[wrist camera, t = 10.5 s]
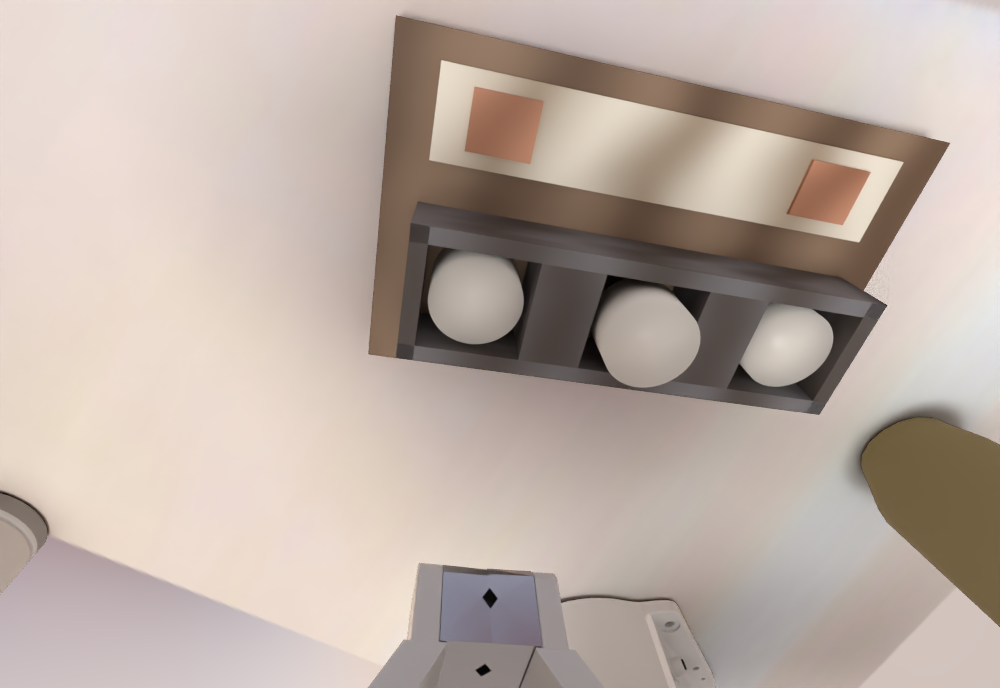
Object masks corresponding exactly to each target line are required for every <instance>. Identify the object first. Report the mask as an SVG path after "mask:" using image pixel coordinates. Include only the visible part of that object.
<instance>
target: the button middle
mask: <svg viewBox="0 0 1000 688" xmlns="http://www.w3.org/2000/svg"><path fill="white" fill-rule="evenodd" d="M590 330H591V333H592V336H593V338H594V340H595V343H596V345H597V347H598V349H599V352H600V354H601V356H602V358H603V361H604V363H605V365H606V367H607V369H608V371H609V372H610V374H611V375H612V376H613V377H614V378H615V379H617V380H618V381H620V382H621V383H624V384H626V385H629V386H633V387H641V388H645V387H654V386H658V385H662V384H664V383H667V382H669V381H671V380H673V379H674V378H676V377H678V376H679V375H680V374H682V373H683V372H684V371H685V370H686V369H687V368H688V367H689V366H690V364H691V363H692V362H693V360H694V359H695V357H696V355H697V352H698V350H699V346H700V338H701V337H700V330H699V326H698V324H697V322H696V320H695V319H694V317H693V316H692V315H691V314H690V312H689V311H688V310H687V309H686V308H685V307H684V305H683V304H682V303H681V302H680V301H679V300H678V298H677V297H676V296H675V295H674V294H673V293H672V291H671V290H670V289H669V288H668V287H667V286H666V285H665V284H660V283H654V282H648V281H642V280H636V279H630V278H625V279H622V280H620V281H618V282H616V283H614V284H612V285H611V286H609V287H608V288H607V289H605V290H604V291H603V292H602V293H601V297H600V300H599V303H598V306H597V309H596V312H595V315H594V319H593V322H592V325H591V328H590Z"/></svg>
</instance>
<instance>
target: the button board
mask: <svg viewBox="0 0 1000 688" xmlns="http://www.w3.org/2000/svg"><path fill="white" fill-rule="evenodd" d="M949 144H950V143H948V142H943V141H939V140H935V139H930V138H926V137H922V136H917V135H913V134H909V133H904V132H900V131H896V130H891V129H887V128H883V127H878V126H874V125H870V124H865V123H861V122H857V121H852V120H848V119H844V118H839V117H835V116H831V115H826V114H822V113H818V112H813V111H809V110H804V109H800V108H796V107H791V106H787V105H783V104H778V103H774V102H770V101H765V100H761V99H757V98H752V97H748V96H744V95H739V94H735V93H731V92H726V91H722V90H718V89H713V88H709V87H705V86H700V85H696V84H692V83H687V82H683V81H679V80H674V79H670V78H666V77H661V76H657V75H652V74H648V73H644V72H639V71H635V70H631V69H626V68H622V67H618V66H613V65H609V64H605V63H600V62H596V61H592V60H587V59H583V58H579V57H574V56H570V55H566V54H561V53H557V52H553V51H548V50H544V49H540V48H535V47H531V46H527V45H522V44H518V43H514V42H509V41H505V40H500V39H496V38H492V37H487V36H483V35H479V34H474V33H470V32H466V31H461V30H457V29H453V28H448V27H444V26H440V25H435V24H431V23H427V22H422V21H418V20H414V19H409V18H405V17H401V16H396V22H395V35H394V47H393V59H392V71H391V84H390V96H389V108H388V120H387V132H386V145H385V157H384V169H383V181H382V194H381V206H380V218H379V230H378V243H377V255H376V267H375V279H374V292H373V304H372V316H371V328H370V341H369V353H368V354H371V355H378V356H386V357H393V358H400V359H408V360H415V361H423V362H430V363H438V364H445V365H452V366H460V367H467V368H475V369H482V370H490V371H497V372H504V373H512V374H519V375H527V376H534V377H542V378H549V379H556V380H564V381H571V382H579V383H586V384H594V385H601V386H608V387H616V388H623V389H631V390H638V391H646V392H653V393H660V394H668V395H675V396H683V397H690V398H698V399H705V400H713V401H720V402H727V403H735V404H742V405H750V406H757V407H765V408H772V409H779V410H787V411H795V412H803V413H810V414H817V415H819V414H820V413H821V411H822V409H823V408H824V406H825V404H826V403H827V401H828V400H829V398H830V396H831V395H832V393H833V392H834V390H835V388H836V387H837V385H838V384H839V382H840V380H841V379H842V377H843V376H844V374H845V372H846V371H847V369H848V368H849V366H850V364H851V363H852V361H853V359H854V358H855V356H856V355H857V353H858V351H859V350H860V348H861V347H862V345H863V343H864V342H865V340H866V339H867V337H868V335H869V334H870V332H871V331H872V329H873V327H874V326H875V324H876V322H877V321H878V319H879V318H880V316H881V314H882V313H883V311H884V310H885V308H886V306H887V305H886V304H884V303H883V302H881V301H879V300H878V299H876V298H874V297H873V296H871V295H869V294H868V293H866V292H864V291H863V290H864V289H865V287H866V285H867V284H868V282H869V280H870V279H871V277H872V275H873V273H874V272H875V270H876V268H877V267H878V265H879V263H880V262H881V260H882V258H883V256H884V255H885V253H886V251H887V250H888V248H889V246H890V245H891V243H892V241H893V239H894V238H895V236H896V234H897V233H898V231H899V229H900V228H901V226H902V224H903V222H904V221H905V219H906V217H907V216H908V214H909V212H910V211H911V209H912V207H913V205H914V204H915V202H916V200H917V199H918V197H919V195H920V194H921V192H922V190H923V188H924V187H925V185H926V183H927V182H928V180H929V178H930V177H931V175H932V173H933V171H934V170H935V168H936V166H937V165H938V163H939V161H940V160H941V158H942V156H943V154H944V153H945V151H946V149H947V148H948V146H949ZM444 247H445V248H451V249H457V250H463V251H469V252H475V253H481V254H487V255H493V256H499V257H505V258H511V259H514V260H515V263H516V266H517V269H518V274H519V278H520V282H521V287H522V291H523V297H524V305H523V310H522V313H521V316H520V318H519V320H518V322H517V323H516V325H515V326H514V327H513V329H512V330H511V331H509V332H508V333H507V334H506V335H504V336H503V337H501V338H499V339H497V340H495V341H492V342H489V343H484V344H467V343H462V342H459V341H456V340H454V339H452V338H450V337H448V336H447V335H445V334H444V333H443V332H442V331H441V330H440V329H439V328H438V327H437V326H436V324H435V323H434V321H433V320H432V318H431V315H430V312H429V308H428V293H429V287H430V280H431V274H432V268H433V264H434V262H435V259H436V258H437V256H438V254H439V253H440V252H441V250H442V249H443V248H444ZM625 278H630V279H636V280H642V281H648V282H654V283H660V284H665V285H666V286H667V287H668V288H669V289H670V290H671V291H672V293H673V294H674V295H675V296H676V297H677V298H678V300H679V301H680V302H681V303H682V304H683V305H684V307H685V308H686V309H687V310H688V311H689V312H690V314H691V315H692V316H693V317H694V319H695V320H696V322H697V324H698V326H699V330H700V337H701V338H700V346H699V350H698V352H697V355H696V357H695V359H694V360H693V362H692V363H691V364H690V366H689V367H688V368H687V369H686V370H685V371H684V372H683V373H682V374H680V375H679V376H678V377H676V378H674V379H673V380H671V381H669V382H667V383H664V384H662V385H658V386H654V387H645V388H641V387H633V386H629V385H626V384H624V383H621V382H620V381H618V380H617V379H615V378H614V377H613V376H612V375H611V374H610V372H609V371H608V369H607V367H606V365H605V363H604V361H603V358H602V356H601V354H600V352H599V349H598V347H597V345H596V343H595V340H594V338H593V336H592V333H591V330H590V328H591V325H592V322H593V319H594V315H595V312H596V309H597V306H598V303H599V300H600V297H601V293H602V292H603V291H604V290H605V289H607V288H608V287H609V286H611V285H612V284H614V283H616V282H618V281H620V280H622V279H625ZM769 302H773V303H779V304H785V305H791V306H797V307H803V308H809V309H813V310H814V311H815V312H817V313H818V314H819V315H821V316H822V317H823V318H825V319H826V320H827V321H828V323H829V324H830V326H831V328H832V331H833V344H832V348H831V351H830V353H829V355H828V357H827V358H826V360H825V361H824V362H823V364H822V365H821V366H820V367H819V368H818V369H817V370H816V371H815V372H813V373H812V374H811V375H809V376H808V377H806V378H805V379H803V380H801V381H799V382H796V383H793V384H790V385H786V386H780V387H772V386H766V385H762V384H760V383H758V382H756V381H755V380H754V379H752V378H751V376H750V375H749V374H748V373H747V372H746V371H745V370H744V368H743V367H742V366H741V365H740V364H739V363H740V361H741V359H742V357H743V355H744V353H745V351H746V349H747V347H748V345H749V343H750V341H751V339H752V337H753V335H754V333H755V331H756V329H757V327H758V325H759V323H760V321H761V319H762V317H763V315H764V313H765V311H766V309H767V306H768V304H769Z"/></svg>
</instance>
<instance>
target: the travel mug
mask: <svg viewBox="0 0 1000 688" xmlns="http://www.w3.org/2000/svg"><path fill="white" fill-rule="evenodd" d="M46 539H47V528H46V525H45V523H44V521H43V519H42V518H41V517H40V516H39V515H38V513H37V512H36V511H35V510H33V509H32V508H31V507H30V506H28V505H27V504H25V503H23V502H22V501H20V500H18V499H15V498H13V497H11V496H8V495H5V494H2V493H0V595H1V593H2V592H3V591H4V590H5V589H6V587H7V586H8V585H9V584H10V583H11V582H12V581H13V579H14V578H15V577H16V576H17V575H18V574H19V572H20V571H21V570H22V569H23V568H24V566H25V565H26V564H27V563H28V562H29V561H30V559H31V558H32V557H33V556H34V555H35V554H36V552H37V551H38V550H39V549H40V548H41V547H42V546H43V544H44V543H45V541H46Z"/></svg>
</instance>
